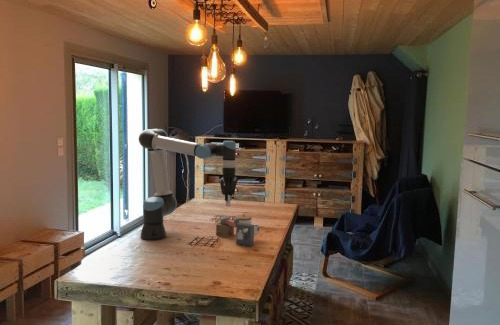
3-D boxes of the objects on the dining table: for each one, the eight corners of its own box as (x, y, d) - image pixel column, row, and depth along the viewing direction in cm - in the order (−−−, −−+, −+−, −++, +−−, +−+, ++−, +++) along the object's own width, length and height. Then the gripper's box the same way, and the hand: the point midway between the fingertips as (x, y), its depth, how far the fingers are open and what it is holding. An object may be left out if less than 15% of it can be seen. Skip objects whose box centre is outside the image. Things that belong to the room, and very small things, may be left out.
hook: (243, 240, 250) (243, 230, 249) (236, 239, 252) (236, 229, 251) (259, 232, 267) (259, 223, 267) (252, 231, 269) (253, 222, 269)
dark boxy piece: (250, 246, 253) (251, 226, 251) (235, 244, 257) (236, 224, 256) (253, 245, 256) (254, 224, 255) (239, 242, 261) (239, 222, 259)
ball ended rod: (218, 223, 275) (218, 214, 274) (226, 221, 279) (226, 213, 278) (234, 228, 263) (234, 219, 262) (242, 227, 266) (242, 218, 266)
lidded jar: (249, 231, 286) (250, 216, 285) (233, 229, 288) (233, 215, 287) (252, 226, 296) (253, 213, 295) (237, 225, 298) (237, 211, 297)
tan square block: (227, 237, 270) (227, 226, 269) (216, 235, 274) (216, 224, 273) (233, 234, 277) (234, 223, 276) (222, 232, 281) (223, 221, 280)
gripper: (234, 165, 269) (233, 203, 272) (216, 166, 261) (215, 206, 264) (241, 167, 263) (240, 206, 266) (223, 168, 255) (222, 208, 258)
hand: (227, 206), depth 265 cm, fingers closed
